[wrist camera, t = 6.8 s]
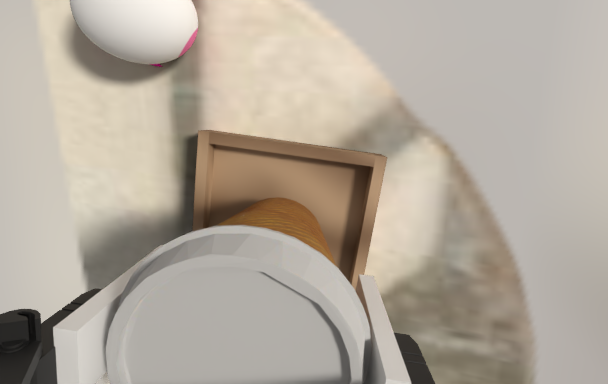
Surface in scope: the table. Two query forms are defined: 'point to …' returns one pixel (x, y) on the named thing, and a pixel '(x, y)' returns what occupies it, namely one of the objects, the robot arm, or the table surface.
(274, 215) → the disposable coffee cup
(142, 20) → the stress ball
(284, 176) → the tray
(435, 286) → the table surface
